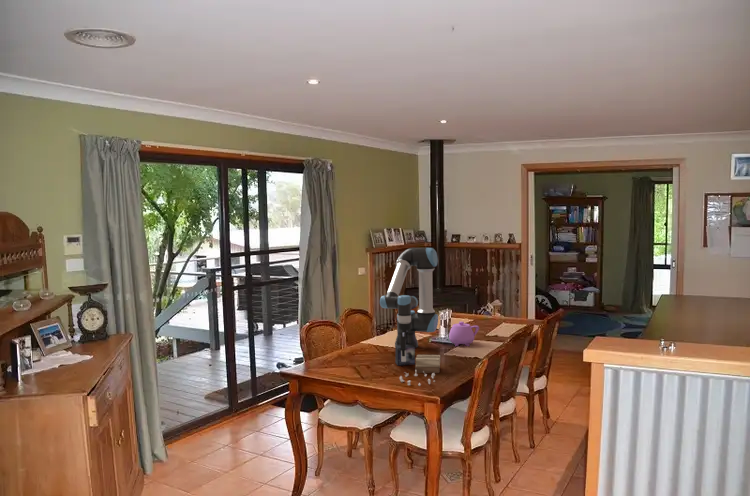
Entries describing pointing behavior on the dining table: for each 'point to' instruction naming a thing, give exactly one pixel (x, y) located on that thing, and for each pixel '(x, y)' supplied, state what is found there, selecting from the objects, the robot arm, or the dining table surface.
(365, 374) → the dining table surface
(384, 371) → the dining table surface
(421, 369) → the tower base block
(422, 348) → the dining table surface
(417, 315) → the robot arm
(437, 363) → the tower top block
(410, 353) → the small box
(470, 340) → the teapot
